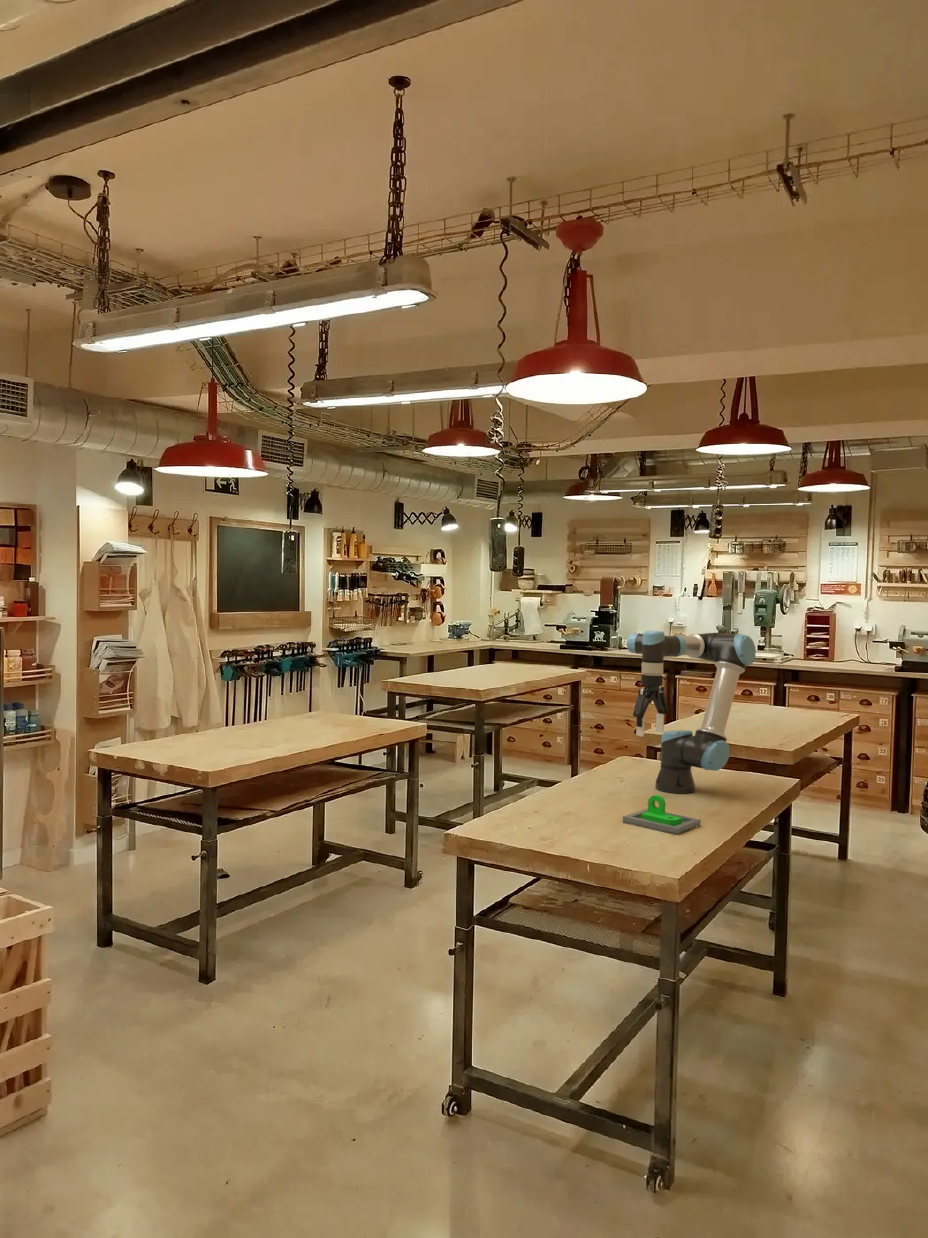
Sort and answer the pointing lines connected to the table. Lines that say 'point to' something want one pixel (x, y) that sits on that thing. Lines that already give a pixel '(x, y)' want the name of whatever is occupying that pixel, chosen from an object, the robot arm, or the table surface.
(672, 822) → the mechanical part
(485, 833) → the table surface
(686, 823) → the locating tray
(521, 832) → the table surface
